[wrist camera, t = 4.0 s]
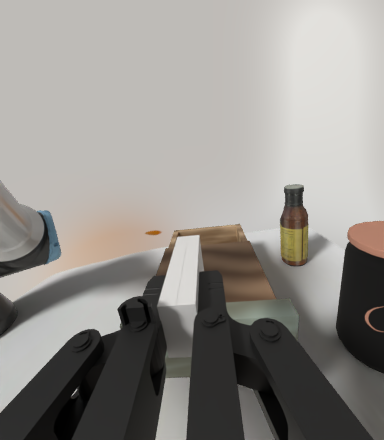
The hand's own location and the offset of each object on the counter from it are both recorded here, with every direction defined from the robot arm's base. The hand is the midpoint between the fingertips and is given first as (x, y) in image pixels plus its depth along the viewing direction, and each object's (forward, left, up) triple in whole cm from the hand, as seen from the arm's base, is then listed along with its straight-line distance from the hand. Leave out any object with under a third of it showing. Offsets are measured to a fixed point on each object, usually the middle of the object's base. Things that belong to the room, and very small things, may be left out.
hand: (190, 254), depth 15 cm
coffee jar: (+2, +27, -25) cm, 37 cm away
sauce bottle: (-21, +37, -25) cm, 50 cm away
